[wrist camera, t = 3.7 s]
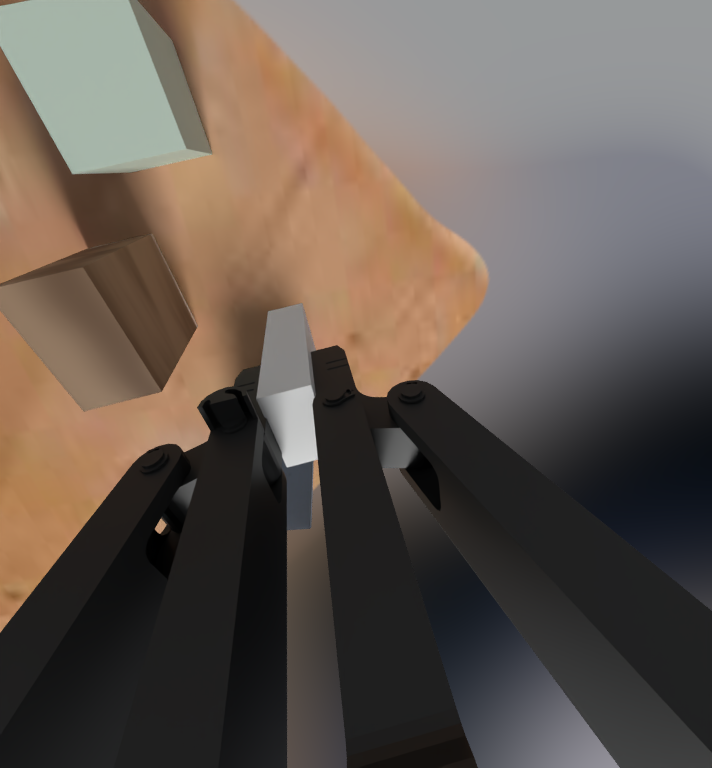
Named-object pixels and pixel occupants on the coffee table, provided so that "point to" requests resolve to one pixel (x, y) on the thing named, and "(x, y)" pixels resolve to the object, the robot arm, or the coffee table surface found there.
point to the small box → (299, 495)
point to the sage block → (103, 83)
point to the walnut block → (103, 320)
